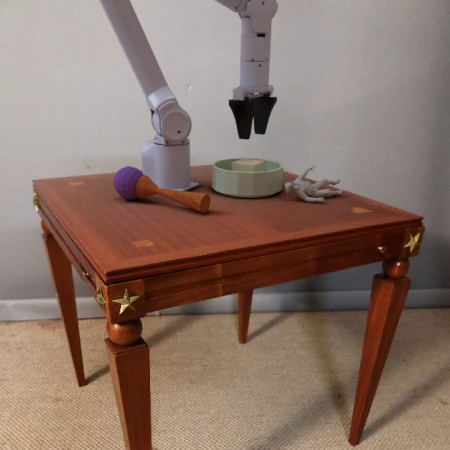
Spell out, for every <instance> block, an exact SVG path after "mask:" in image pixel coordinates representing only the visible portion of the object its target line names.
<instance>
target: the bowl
mask: <svg viewBox="0 0 450 450" xmlns="http://www.w3.org/2000/svg"><path fill="white" fill-rule="evenodd" d="M240 159H252V160H261V161H265V166H264V171H261V172H239V171H232V162H235V161H237V160H240ZM283 178H284V164H283V163H281V162H280V161H276V160H272V159H266V158H258V157H233V158H232V157H231V158H225V159H224V158H223V159H219V160H216V161H213V162H212V164H211V188H212V190H214V191H215V192H218V193H219V194H222V195H223V196H227V197H232V198H233V197H234V198H244V199H245V198H246V199H255V198H256V199H257V198H265V197H270V196H273V195H275V194H277V193H279V192H281V191H282V190H283V180H284V179H283Z"/></svg>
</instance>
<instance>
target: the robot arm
mask: <svg viewBox="0 0 450 450" xmlns="http://www.w3.org/2000/svg"><path fill="white" fill-rule="evenodd" d="M214 1H215V2H217V3H218V4H220V5H222V6H223V7H225V8H227V9H228V10H231V11H232V12H234V13H236V14H237V15H238V17H239V20H241V26H240V32H241V33H240V52H239V53H240V54H239V55H240V56H239V58H240V59H239V86H237V87H234V88H232V98H231V99H228V106H229V108H230V110H231V113H232V116H233V118H234V121H235V126H236V130H237V131H236V132H237V136H238V139H239V140H247V141H248V140H250V139H251V135H252V128H253V132H254V134H255V135H263V136H264V135H266V132H267V129H268V124H269V122H270V117H271V115H272V112H273V110H274V107H275V105H276V104H277V102H278V97H277V96H273V93H274V92H275V87H274V85H273V84H270V67H271V66H270V65H271V49H272V48H271V47H272V23H273V19H274V17H275V16H276V14H277V12H278V8H279V3H278V2H277V0H214ZM98 2H99V3H100V5H101V8H102V11H103V12H104V14H105V16H106V18H107V20H108V22H109V24H110V26H111V28H112V30H113V33H114V35H115V38H116V39H117V41H118V44H119V45H120V47H121V49H122V51H123V54H124V55H125V58H126V60H127V61H128V64H129V66H130V68H131V69H132V72H133V74H134V76H135V79H136V81H137V82H138V84H139V86H140V88H141V91H142V93H143V96H144V98H145V102H146V106H147V107H148V109H149V112H150V122H151V123H150V124H151V126H152V129H153V130H154V131H155V133H156V134H155V135H154V137H153V138H152V140H147V141H146V142H145V143H144V145H143V146H142V150H141V155H140V156H141V170H142V171H141V172H142V173H143V175H146V176H148V177H149V178H150V179H151V180H152V181H153V182H154V183H155V184H156V185H157V186H158V187H159V188H163V189H171V190H179V191H189V190H191V189H194V188H196V187H199V186H200V183H199V182H195V181H194V182H193V181H192V176H191V172H192V171H191V139H190V138H189V136H190V134H191V133H192V129H193V124H192V123H193V122H192V118H191V116H190V115H189V113H188V112H187V111H186V110H185V109H184V108H182V107H181V105H180V103H179V102H178V100H177V97H176V95H175V94H174V93H173V91H172V89H171V88H170V86H169V84H168V82H167V80H166V78H165V76H164V73H163V70H162V69H161V67H160V64H159V62H158V60H157V57H156V55H155V53H154V51H153V49H152V47H151V44H150V41H149V40H148V37H147V35H146V33H145V30H144V29H143V26H142V23H141V22H140V20H139V18H138V15H137V13H136V11H135V9H134V6H133V4H132V2H131V0H98Z"/></svg>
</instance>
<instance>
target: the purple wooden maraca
mask: <svg viewBox="0 0 450 450" xmlns="http://www.w3.org/2000/svg"><path fill="white" fill-rule="evenodd" d="M113 187H114V189H115V192H116V193H117V194H118V195H119V196H120V197H121V198H122V199H126V200H129V201H133V200H137V199H146V198H149V197H152V196H153V197H154V196H155V195H156V196H157V195H159V196H162V197H164V198H166V199H169V200H171V201H173V202H176V203H178V204H180V205H183V206H185V207H187V208H190V209H192V210H194V211H196V212H199V213H201V214H205V213H207V212H208V210H209V209H210V207H211V202H212V200H211V196H210V194H208V193H204V192H203V193H202V192H195V191H188V190H186V191H179V190H171V189H163V188H159V187H158V186H157V185H156V184H155V183H154V182H153V181H152V180H151V179H150V178H149V177H148V176H146V175H143V172H142V171H141V170H140V169H139V168H137V167H134V166H130V165H128V166H124V167H121V168H120V169H119V170H117V171H116V173H115V175H114V177H113Z"/></svg>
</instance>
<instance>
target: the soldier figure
mask: <svg viewBox="0 0 450 450" xmlns="http://www.w3.org/2000/svg"><path fill="white" fill-rule="evenodd" d="M315 167H316V165H311V166H309V167H308V168H306V169H305V170H304V171H303V172H302V173H301V174H300V175H299V176H298V177H297V178H295V179H294V180H288V181H285V182H284V188H285V192H286V194H287V195H288V194H289V193H290V192H291V191H292V190H294V192H295V193H296V195H297V196H298V197H299V198H301V199H302V200H303V201H305V202H309V203H316V202H318V203H321V202H324V201H325V198H324V197H327V196H328V197H332V196H334V195H335V196H340V195H341V196H342V194H343V193H344V189H339V190H331V189H330V188H326V189H322V188H323V187H324V186H330V185H332V187H333V186H336V185H339V184H340V182H341V178H340V177H338V178H337V179H336V180H335V179H334V180H329V179H327V178H322V179H319V181H316V182H314V183H311V182H310V181H309V180H304V179H305V178H306V177H307V176H308V173H309V172H310V171H314V170H315V169H314V168H315Z"/></svg>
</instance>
